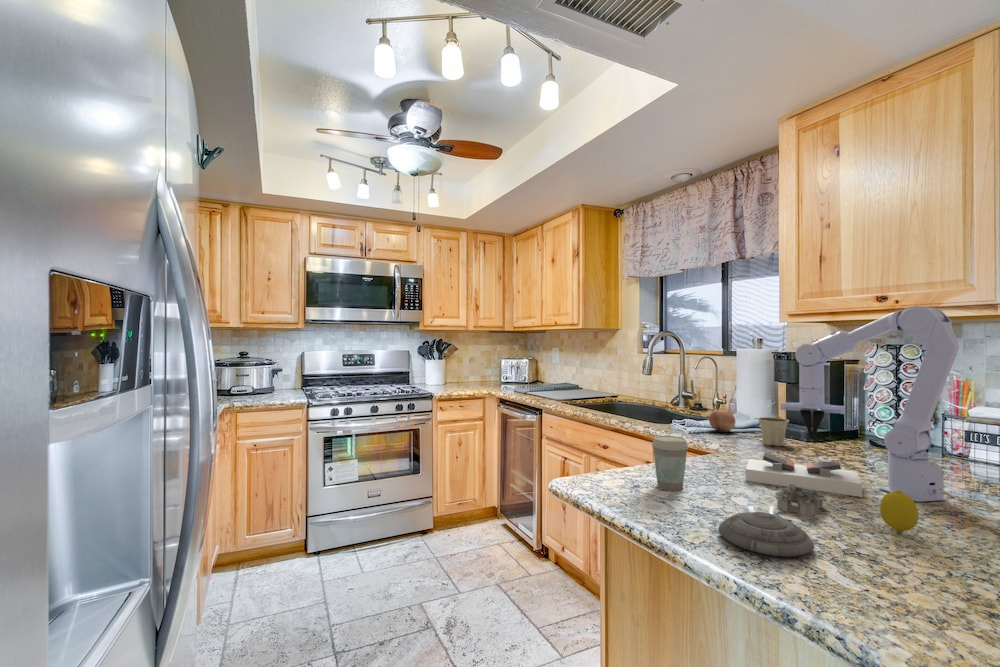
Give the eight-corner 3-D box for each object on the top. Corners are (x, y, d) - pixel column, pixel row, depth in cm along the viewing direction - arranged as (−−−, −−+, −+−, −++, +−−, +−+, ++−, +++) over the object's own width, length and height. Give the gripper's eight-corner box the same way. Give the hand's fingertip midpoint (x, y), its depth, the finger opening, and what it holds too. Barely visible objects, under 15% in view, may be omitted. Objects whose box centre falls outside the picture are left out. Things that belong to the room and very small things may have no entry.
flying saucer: (705, 544, 86) (705, 513, 86) (735, 521, 96) (735, 494, 96) (801, 573, 75) (801, 538, 75) (823, 544, 85) (823, 513, 85)
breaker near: (840, 467, 119) (837, 459, 119) (842, 471, 115) (839, 464, 115) (808, 471, 122) (806, 463, 123) (809, 475, 118) (806, 468, 118)
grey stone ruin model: (811, 520, 97) (811, 499, 97) (771, 509, 103) (771, 490, 103) (828, 507, 104) (828, 488, 104) (790, 498, 109) (790, 480, 109)
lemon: (880, 524, 93) (879, 484, 94) (917, 532, 90) (917, 489, 90) (879, 533, 89) (879, 491, 89) (919, 541, 86) (918, 497, 86)
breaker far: (791, 469, 124) (794, 462, 124) (791, 473, 120) (794, 467, 120) (762, 458, 128) (765, 451, 127) (761, 462, 123) (764, 455, 123)
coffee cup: (648, 489, 115) (648, 440, 115) (655, 480, 123) (654, 433, 123) (686, 495, 111) (686, 443, 111) (690, 485, 119) (690, 437, 119)
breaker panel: (856, 483, 120) (856, 464, 120) (862, 496, 110) (862, 476, 110) (749, 469, 132) (749, 452, 133) (745, 480, 122) (745, 462, 122)
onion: (718, 437, 190) (716, 413, 195) (741, 434, 183) (738, 409, 188) (705, 431, 185) (703, 406, 190) (728, 428, 178) (726, 402, 183)
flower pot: (764, 440, 171) (764, 416, 171) (793, 444, 164) (793, 419, 164) (753, 443, 165) (752, 419, 165) (782, 448, 158) (782, 422, 158)
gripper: (780, 388, 130) (781, 438, 130) (846, 391, 122) (846, 444, 122) (780, 386, 136) (781, 433, 136) (843, 388, 128) (843, 439, 128)
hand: (812, 438), depth 129 cm, fingers closed
